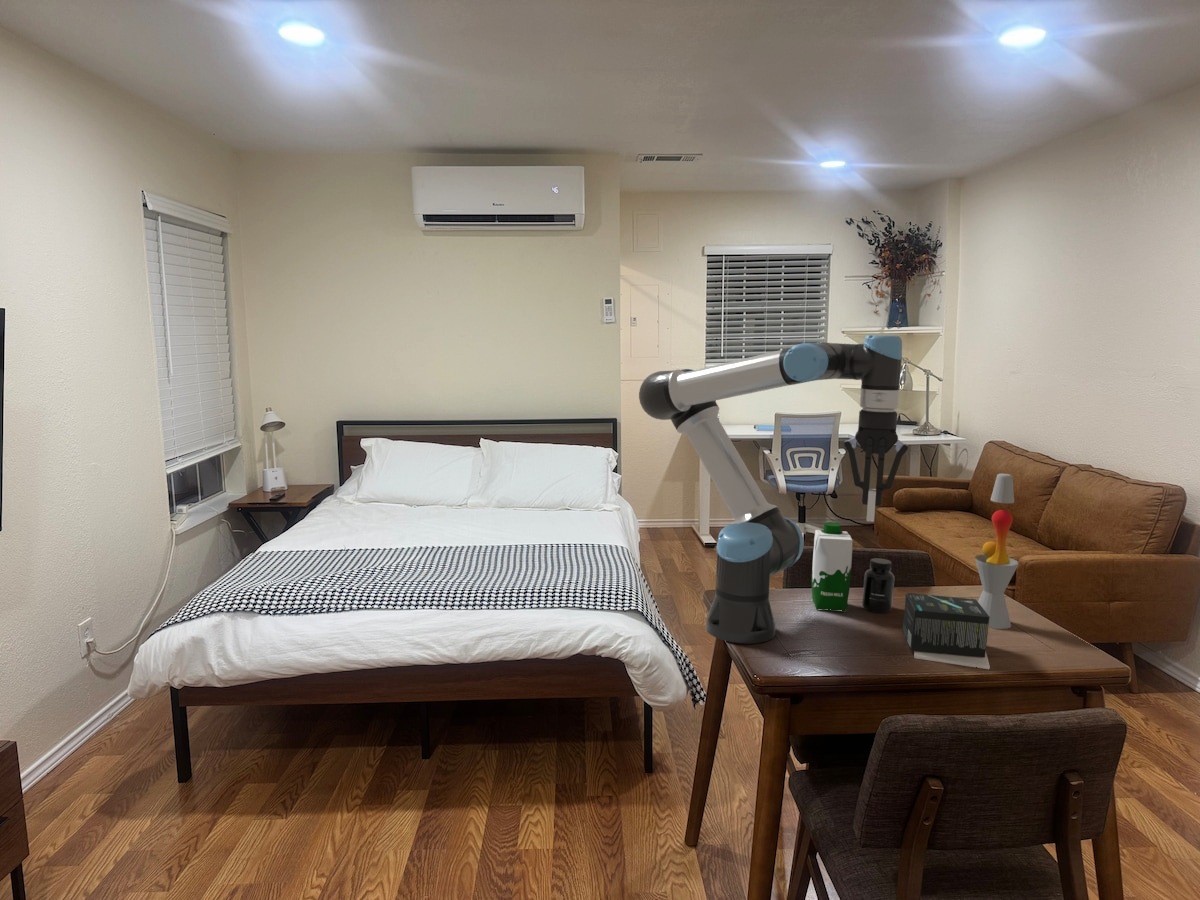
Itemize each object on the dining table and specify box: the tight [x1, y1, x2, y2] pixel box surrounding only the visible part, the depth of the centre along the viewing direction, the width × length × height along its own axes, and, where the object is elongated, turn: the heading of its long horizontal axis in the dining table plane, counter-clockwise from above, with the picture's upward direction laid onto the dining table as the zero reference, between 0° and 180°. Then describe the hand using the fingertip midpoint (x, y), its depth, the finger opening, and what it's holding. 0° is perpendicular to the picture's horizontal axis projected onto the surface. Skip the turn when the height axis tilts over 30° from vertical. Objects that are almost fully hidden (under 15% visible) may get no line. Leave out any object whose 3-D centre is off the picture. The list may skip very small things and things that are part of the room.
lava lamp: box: [974, 473, 1019, 630], centre depth 181 cm, size 9×9×35 cm
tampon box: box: [902, 592, 990, 657], centre depth 167 cm, size 11×9×15 cm
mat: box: [913, 651, 991, 670], centre depth 166 cm, size 14×13×1 cm
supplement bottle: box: [861, 557, 895, 614], centre depth 191 cm, size 7×7×12 cm
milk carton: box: [811, 521, 853, 612], centre depth 191 cm, size 9×9×20 cm
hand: (870, 519), depth 168 cm, fingers closed
